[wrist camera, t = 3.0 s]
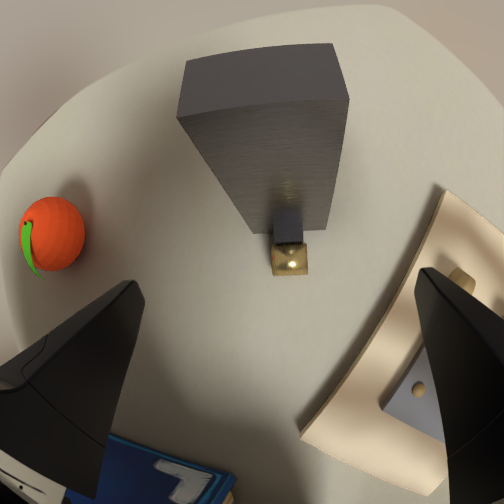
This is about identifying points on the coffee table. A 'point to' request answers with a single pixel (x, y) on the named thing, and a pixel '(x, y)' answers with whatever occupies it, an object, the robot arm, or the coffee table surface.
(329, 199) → the grey block
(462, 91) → the coffee table surface
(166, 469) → the book
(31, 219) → the clementine
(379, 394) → the board
